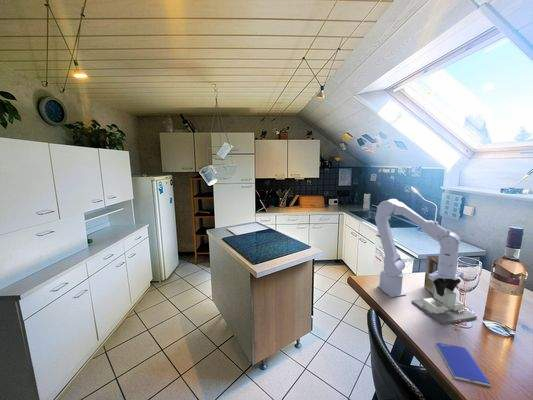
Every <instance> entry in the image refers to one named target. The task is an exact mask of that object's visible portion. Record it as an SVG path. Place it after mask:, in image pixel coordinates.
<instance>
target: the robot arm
mask: <svg viewBox="0 0 533 400" xmlns="http://www.w3.org/2000/svg"><path fill="white" fill-rule="evenodd" d="M392 215H395V216H403V217H405V218H407V219H408V220H410V221H412V222H413V223H415V224H416V225H418V226H419V227H420V228H421V229H420V230H421V231H422V232H423V233H424V234H426V235H427V236H429V237H430V238H432V239H433V240H435V241H436V242H438V244H439V246H440V248H439V249H440V250H439V252H438V254H439V255H438V256H439V262H438V270H437V271H436V272H434V273H432V274H429V279H430V280H432V281H433V282H434V284H435V287H436V291H437V294H438V295H440V296H443V295H444V291H445V288H447V289H449V290H451V291H453V292H454V291H455V289H456V288H457V286H458V285H459V284H460V283H461V282H462V281H461V279H459V278H464V276H465V275H464V274H465V273H464V272H463V271H461V270H457V267H458V258H459V245H460V244H461V237H460V236H459V235H458V234H457V233H456V232H455V231H451V230H450V229H446V228H445V227H443V226H442V225H440V224H439V222H438V221H436V220H435V221H434V220H432V219H431V220H427V219H425V218H424V217H422V216H421V215H420V214H419V213H418V212H416V211H414V210H413V209H411V208H410V207H409V206H407V205H406V204H405V203H404V202H402V201H400V200H398V199H396V198H390V199H387V200H383V201H381V202H380V203H379V204H378V205H377V206H376V213H375V217H374V220H375V225H376V227H377V232H378V235H379V239H380V243H381V246H382V251H383V253H384V256H383V257H384V258H383V269H382V270H381V272H380V273H379V285H377V288H379V289H380V290H381V291H383V292H384V293H386V295H387V296H389V297H391V298H394V297H402V296H407V293H405V292H404V291H403V277H404V273H403V271H404V269H405V268H406V264H405V262H404V260H403V259H402V257H401V255H400V254H399V253H398V252H397V248H396V245H395V244H396V243H395V240H394V236H393V233H392V231H391V230H392V229H391V227H390V222H389V220H390V218H391V217H392ZM443 279H444V280H445V281H444V280H443Z"/></svg>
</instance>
